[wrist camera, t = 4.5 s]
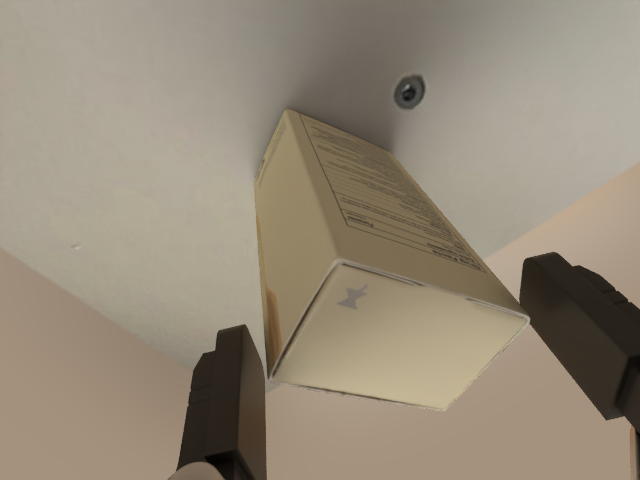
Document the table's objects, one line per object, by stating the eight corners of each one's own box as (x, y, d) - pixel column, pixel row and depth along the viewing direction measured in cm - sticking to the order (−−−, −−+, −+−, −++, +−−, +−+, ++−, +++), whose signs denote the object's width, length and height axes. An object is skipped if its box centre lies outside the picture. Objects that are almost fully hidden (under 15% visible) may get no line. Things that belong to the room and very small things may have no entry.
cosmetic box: (251, 183, 21) (249, 384, 10) (285, 103, 19) (324, 252, 8) (360, 223, 23) (447, 421, 13) (400, 155, 21) (541, 322, 11)
